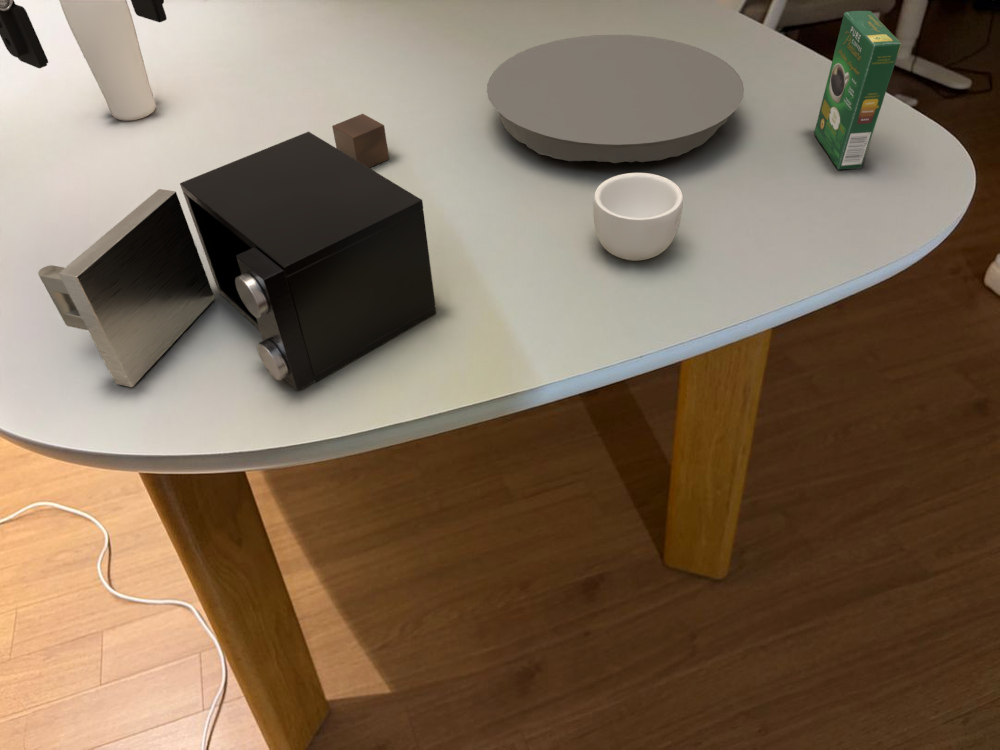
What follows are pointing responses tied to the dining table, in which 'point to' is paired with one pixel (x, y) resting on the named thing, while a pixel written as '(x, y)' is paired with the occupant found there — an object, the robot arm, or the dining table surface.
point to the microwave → (313, 254)
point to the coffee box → (855, 88)
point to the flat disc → (614, 97)
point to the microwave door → (134, 287)
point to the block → (362, 140)
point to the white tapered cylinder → (112, 54)
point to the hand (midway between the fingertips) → (95, 39)
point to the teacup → (637, 215)
